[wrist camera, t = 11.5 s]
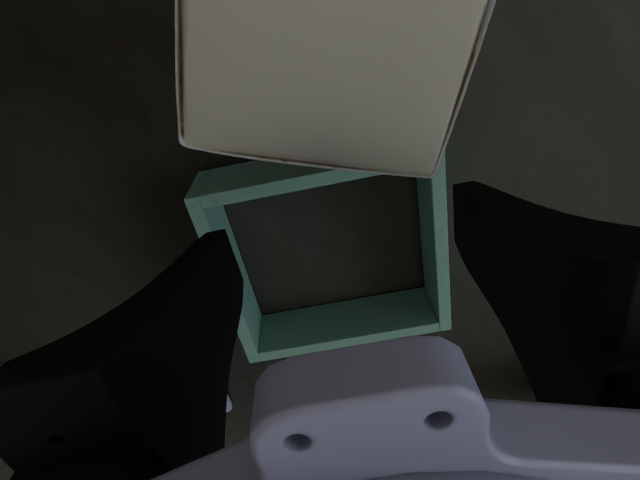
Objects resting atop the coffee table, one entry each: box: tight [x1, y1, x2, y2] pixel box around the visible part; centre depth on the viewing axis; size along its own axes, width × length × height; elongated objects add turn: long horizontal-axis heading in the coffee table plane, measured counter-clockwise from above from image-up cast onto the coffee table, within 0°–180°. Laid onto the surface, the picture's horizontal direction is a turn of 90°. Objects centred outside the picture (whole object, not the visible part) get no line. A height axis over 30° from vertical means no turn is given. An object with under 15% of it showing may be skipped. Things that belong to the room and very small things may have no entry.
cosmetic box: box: [175, 0, 496, 179], centre depth 14 cm, size 6×4×12 cm
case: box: [184, 150, 451, 363], centre depth 24 cm, size 12×11×4 cm
